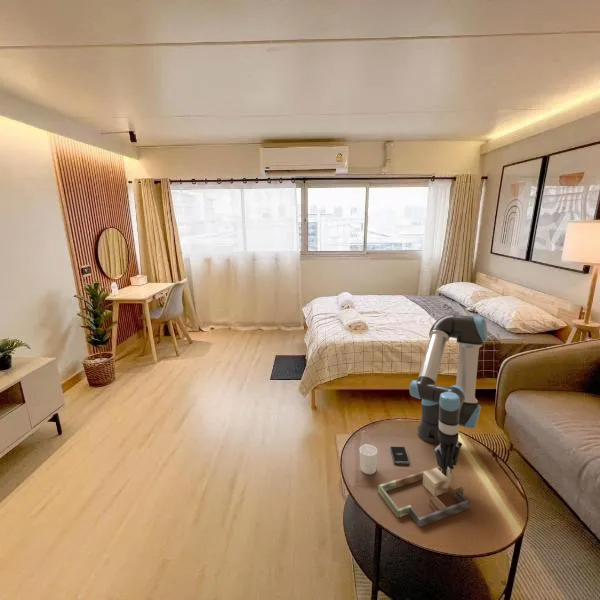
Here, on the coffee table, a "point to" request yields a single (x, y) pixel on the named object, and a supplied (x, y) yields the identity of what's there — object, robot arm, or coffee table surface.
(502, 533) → the coffee table surface
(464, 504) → the channel
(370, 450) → the white cup
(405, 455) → the external hard drive
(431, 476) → the block
